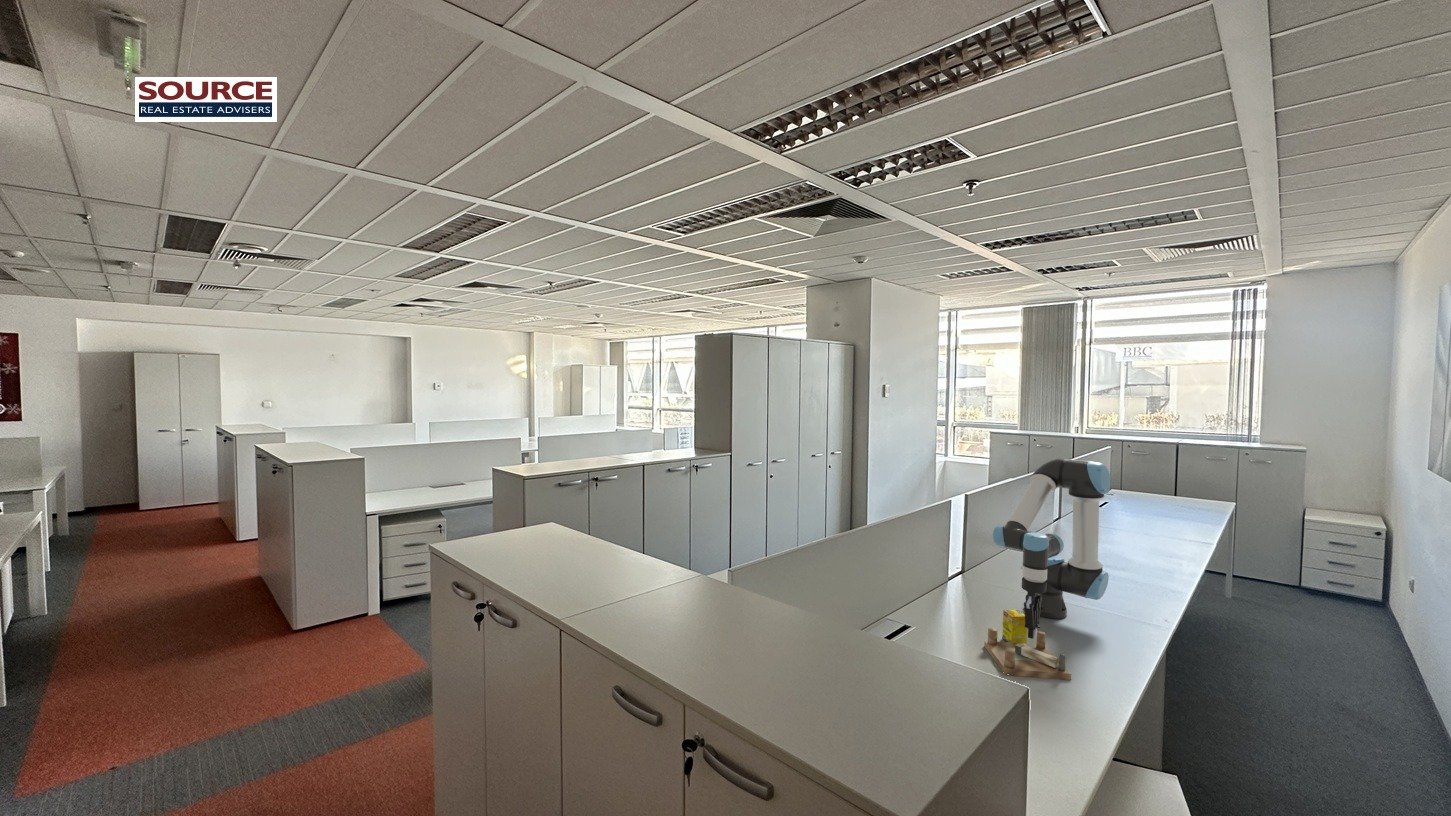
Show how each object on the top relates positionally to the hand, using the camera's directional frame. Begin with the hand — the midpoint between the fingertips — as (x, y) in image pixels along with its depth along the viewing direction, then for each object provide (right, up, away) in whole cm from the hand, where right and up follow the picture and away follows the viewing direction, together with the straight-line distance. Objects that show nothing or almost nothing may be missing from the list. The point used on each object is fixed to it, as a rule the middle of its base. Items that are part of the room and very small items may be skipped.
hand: (1031, 646), depth 194 cm
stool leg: (-2, -1, -7) cm, 7 cm away
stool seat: (-4, -4, -4) cm, 7 cm away
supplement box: (0, -3, +11) cm, 11 cm away
